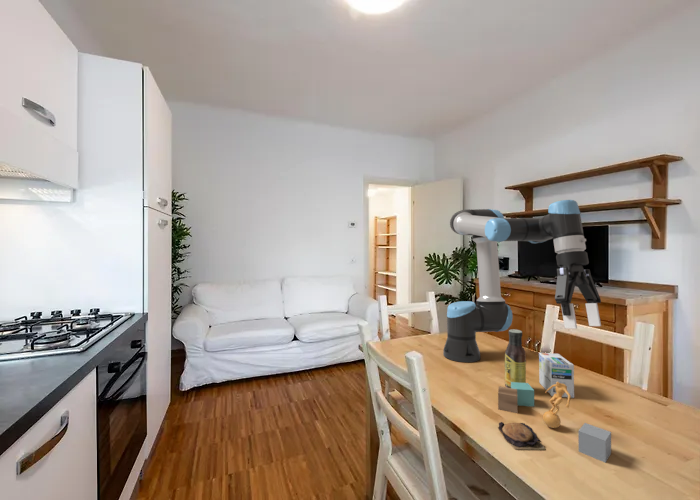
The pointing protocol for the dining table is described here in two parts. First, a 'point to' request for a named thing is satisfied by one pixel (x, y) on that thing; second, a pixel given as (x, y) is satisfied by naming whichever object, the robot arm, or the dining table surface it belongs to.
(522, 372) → the sauce bottle
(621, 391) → the dining table surface
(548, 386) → the light bulb box
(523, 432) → the bread roll
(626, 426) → the dining table surface
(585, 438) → the slate grey cube
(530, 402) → the teal painted cube
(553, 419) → the figurine
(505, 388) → the walnut cube
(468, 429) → the dining table surface
